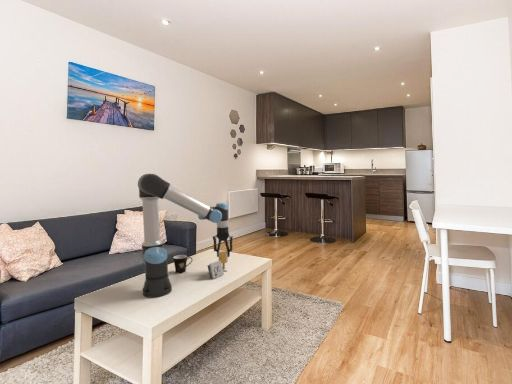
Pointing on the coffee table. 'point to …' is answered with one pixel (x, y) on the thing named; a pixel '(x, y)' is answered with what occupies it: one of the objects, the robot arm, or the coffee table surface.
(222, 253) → the yellow upright square block
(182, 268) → the coffee mug
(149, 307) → the coffee table surface
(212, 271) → the electrical switch
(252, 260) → the coffee table surface
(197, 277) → the coffee table surface
